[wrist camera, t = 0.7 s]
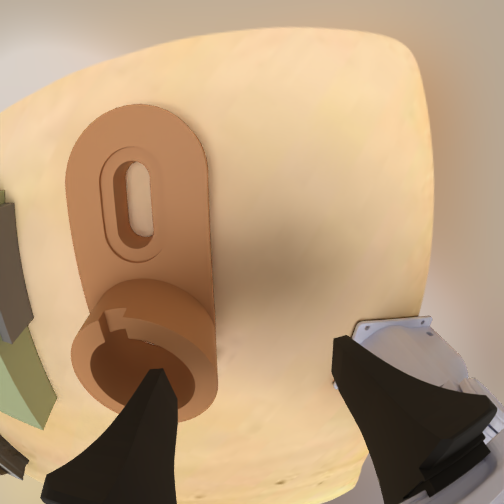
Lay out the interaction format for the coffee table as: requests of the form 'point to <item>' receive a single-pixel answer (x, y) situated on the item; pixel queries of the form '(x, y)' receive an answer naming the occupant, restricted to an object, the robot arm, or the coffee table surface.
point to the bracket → (143, 260)
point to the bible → (11, 460)
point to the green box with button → (18, 336)
